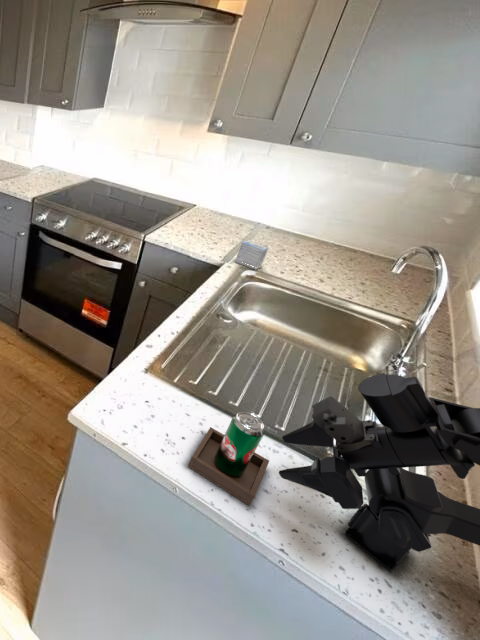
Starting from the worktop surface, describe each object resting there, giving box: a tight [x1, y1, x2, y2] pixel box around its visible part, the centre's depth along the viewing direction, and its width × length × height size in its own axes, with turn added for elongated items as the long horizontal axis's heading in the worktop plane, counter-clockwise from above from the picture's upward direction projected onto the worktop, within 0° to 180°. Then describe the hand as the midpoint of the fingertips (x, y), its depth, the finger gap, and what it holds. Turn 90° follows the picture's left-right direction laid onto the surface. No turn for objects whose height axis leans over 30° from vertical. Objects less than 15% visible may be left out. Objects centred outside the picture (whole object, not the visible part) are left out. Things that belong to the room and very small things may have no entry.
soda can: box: [214, 411, 265, 476], centre depth 79 cm, size 5×5×12 cm
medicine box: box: [234, 239, 269, 271], centre depth 163 cm, size 8×4×9 cm, turn 34°
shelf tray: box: [187, 426, 270, 506], centre depth 81 cm, size 11×11×3 cm
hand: (281, 456), depth 75 cm, fingers open, 9 cm apart
